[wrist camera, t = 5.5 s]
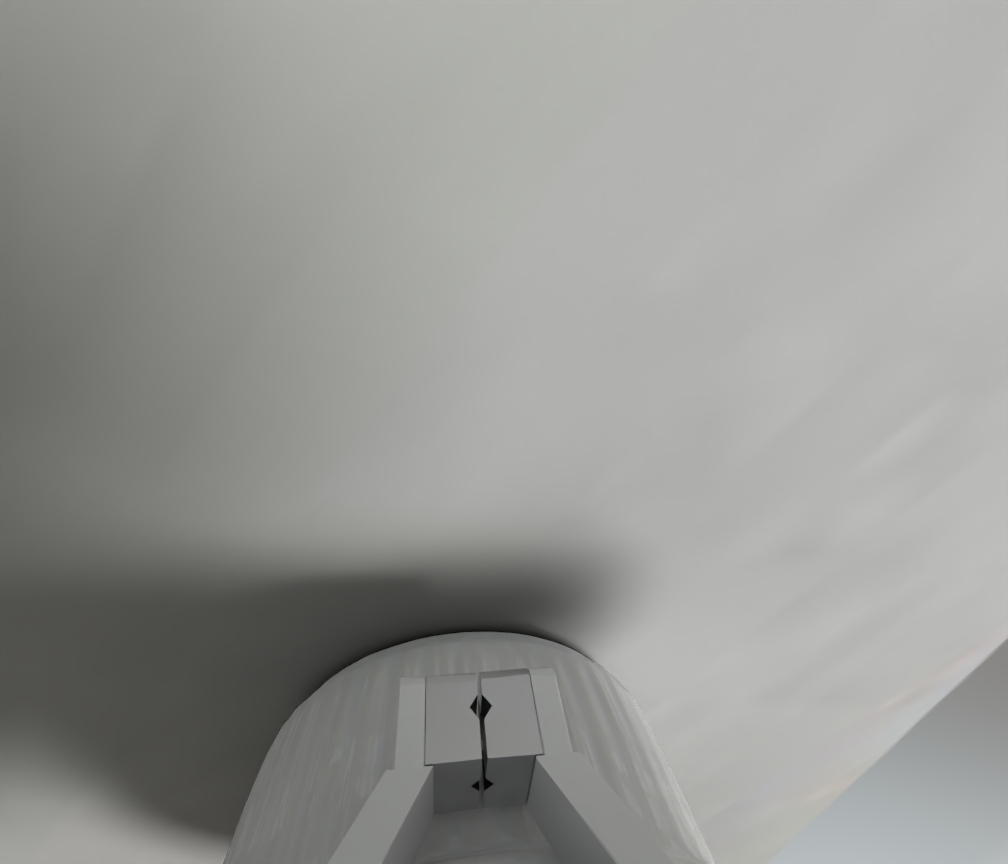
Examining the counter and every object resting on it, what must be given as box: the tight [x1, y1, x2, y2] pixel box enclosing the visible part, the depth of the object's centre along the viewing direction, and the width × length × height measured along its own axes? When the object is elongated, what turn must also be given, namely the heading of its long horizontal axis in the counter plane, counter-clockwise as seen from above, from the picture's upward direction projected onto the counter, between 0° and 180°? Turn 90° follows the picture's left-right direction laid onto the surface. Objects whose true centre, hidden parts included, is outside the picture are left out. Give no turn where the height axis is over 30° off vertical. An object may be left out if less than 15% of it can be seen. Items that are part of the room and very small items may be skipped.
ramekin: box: [223, 632, 715, 864], centre depth 14 cm, size 13×13×7 cm
